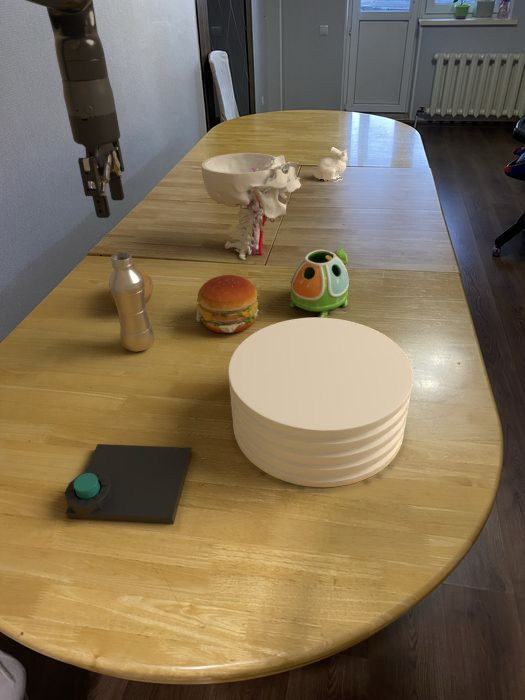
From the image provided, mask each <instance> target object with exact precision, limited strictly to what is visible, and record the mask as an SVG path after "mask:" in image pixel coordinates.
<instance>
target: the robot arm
mask: <svg viewBox="0 0 525 700" xmlns="http://www.w3.org/2000/svg"><path fill="white" fill-rule="evenodd" d="M25 1H26V2H29V3H32V4H36V5H38V6H41V7H45V8H46V11H47V15H48V19H49V22H50V26H51V29H52V30H51V31H52V33H53V37H54V48H55V49H54V50H55V56H56V61H57V65H58V66H57V67H58V69H59V74H60V78H61V83H62V92H63V94H62V95H63V99H64V104H65V109H66V112H67V117H68V122H69V126H70V131H71V135H72V139H73V141H74V143H76V144H77V145H82V146H83V147H84V148H85V157H78V160H77V161H78V162H77V163H78V168H79V173H80V177H81V183H82V187H83V192H84V195H85V196H84V197H92V201H93V206H94V210H95V214H96V217H97V218H99V219H108V218H109V217H110V216H111V210H110V205H109V200H108V196H107V184H108V188H109V192H110V198H111V200H112V201H123V200H124V199H125V194H124V187H123V183H122V182H123V181H122V178H123V173H124V172H125V165H124V160H123V156H122V151H121V144H120V139H121V131H120V130H121V129H120V126H119V119H118V114H117V108H116V102H115V97H114V92H113V87H112V85H111V81H110V77H109V71H108V67H107V61H106V55H105V51H104V45H103V43H102V40H101V38H100V36H99V32H98V25H97V19H96V13H95V7H94V0H25Z"/></svg>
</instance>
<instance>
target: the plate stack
mask: <svg viewBox="0 0 525 700" xmlns="http://www.w3.org/2000/svg"><path fill="white" fill-rule="evenodd" d="M228 363H229V364H228V371H227V372H228V374H227V375H228V383H229V394H230V407H231V419H232V428H233V434H234V438H235V441H236V443H237V445H238V448H239V449H240V450H241V452H242V453H243V454H244V456H245V457H246V459H248V460H249V461H250V462H251V463H252V464H253V465H254V466H256V467H257V468H258V469H259V470H261V471H262V472H264V473H266V474H268V475H269V476H271V477H273V478H275V479H278V480H281V481H283V482H285V483H290V484H293V485H298V486H302V487H311V488H335V487H343V486H347V485H351V484H355V483H358V482H362V481H364V480H367V479H369V478H371V477H373V476H375V475H376V474H378V473H379V472H382V471H383V470H384V469H385V468H386V467H388V466H389V464H390V463H391V462H392V461H393V460H394V459H395V458H396V457H397V454H398V453H399V451H400V449H401V447H402V445H403V444H402V443H403V441H404V435H405V429H406V425H407V418H408V412H409V408H410V407H409V406H410V401H411V397H412V396H411V395H412V390H413V384H414V371H413V370H414V369H413V366H412V362H411V361H410V359H409V357H408V355H407V354H406V353H405V351H404V350H403V349H402V347H401V346H400V345H399V344H398V343H396V342H395V341H394V340H393V339H391V338H390V337H389V336H387V335H385V334H384V333H382V332H381V331H378V330H377V329H374V328H372V327H370V326H367V325H365V324H361V323H358V322H353V321H350V320H346V319H340V318H332V317H326V318H318V317H300V318H293V319H288V320H283V321H279V322H276V323H273V324H269V325H268V326H265V327H262V328H261V329H258V330H257V331H255V332H254V333H252V334H250V335H249V336H248V337H246V338H245V339H243V341H242V342H241V343H239V345H238V346H236V348H235V350H234V352H233V353H232V355H231V357H230V360H229V362H228Z"/></svg>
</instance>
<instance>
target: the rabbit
mask: <svg viewBox="0 0 525 700" xmlns="http://www.w3.org/2000/svg"><path fill="white" fill-rule="evenodd" d="M330 153H331V154H334V155H337V156H336V157H334V158H331V157H323V158H321V159H320V160H319V161H318V163H317V165H316V170H314V171H313V177H314V178H315V179H317V178H321V179H324V180H325V179H326V180H330V179H336V178H339V177H341V175H342V173H345V170H346V168H347V162H348V159H349V158H348V150H347V149H344V150H339V149H338V148H336V147H334V146H332V147H331V148H330ZM339 175H340V176H339ZM318 180H320V179H318ZM342 180H343V178H342V179H338V180H337V181H324V182H327V183H337V182H338V181H342ZM320 181H321V180H320Z"/></svg>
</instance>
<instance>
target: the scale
mask: <svg viewBox="0 0 525 700" xmlns="http://www.w3.org/2000/svg"><path fill="white" fill-rule="evenodd" d="M192 455H193V452H192V447H184V446H183V447H181V446H160V445H158V446H157V445H156V446H155V445H131V444H109V443H107V444H105V443H97V444H96V447H95V448H94V451H93V453H92V455H91V457H90V459H89V462H88V464H87V466H86V468H85V470H84V472H83V474H85V473H92V474H94V475H96V476H97V479H98V482H99V485H100V490H99V492H98V493H97V494H96V495H95V496H94V497H92V498H90V499H81V498H79V497H78V496H77V494H76V491H75V489H74V481H75V480H76V479H77V478H78V477H79V476H80V475H81V474H79V475H77V476H76V477H75V478H73V479H72V480H71V481H70V482H69V483H68V485H67V487H66V488H65V491H64V497H65V501H66V504H67V508H66V511H65V516H66V517H67V519H68V520H84V521H85V520H86V521H103V522H120V523H140V524H141V523H142V524H160V525H174V524H175V520H176V517H177V513H178V509H179V506H180V501H181V497H182V494H183V489H184V486H185V482H186V478H187V475H188V470H189V467H190V466H189V465H190V462H191V459H192Z"/></svg>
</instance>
